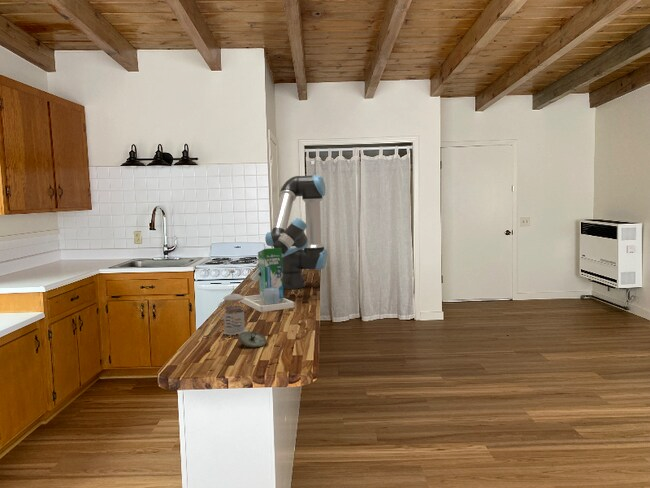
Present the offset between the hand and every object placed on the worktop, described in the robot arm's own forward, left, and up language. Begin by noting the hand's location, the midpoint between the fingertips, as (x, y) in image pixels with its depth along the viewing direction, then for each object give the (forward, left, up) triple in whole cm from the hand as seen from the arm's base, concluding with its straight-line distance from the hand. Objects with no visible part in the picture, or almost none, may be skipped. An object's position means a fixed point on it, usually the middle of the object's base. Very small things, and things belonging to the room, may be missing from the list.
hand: (253, 279), depth 259 cm
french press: (+44, -25, -13) cm, 52 cm away
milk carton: (+5, +7, -9) cm, 13 cm away
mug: (+15, +4, -12) cm, 19 cm away
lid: (+66, -25, -13) cm, 72 cm away
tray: (+7, +4, -13) cm, 15 cm away
